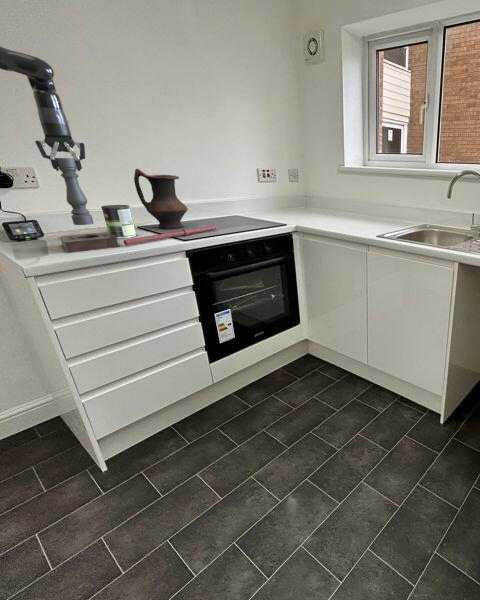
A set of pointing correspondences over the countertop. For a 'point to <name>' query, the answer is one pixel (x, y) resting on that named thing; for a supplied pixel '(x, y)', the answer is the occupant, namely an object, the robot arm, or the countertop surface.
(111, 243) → the stand
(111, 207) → the coffee can
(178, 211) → the jug
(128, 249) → the countertop surface
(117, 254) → the countertop surface
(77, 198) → the candle holder
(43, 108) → the robot arm
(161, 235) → the red rod
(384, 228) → the countertop surface
